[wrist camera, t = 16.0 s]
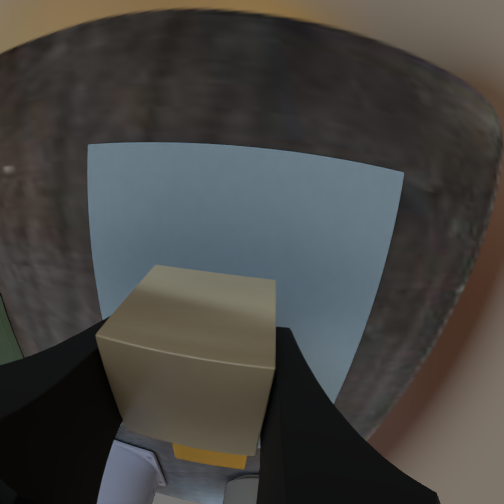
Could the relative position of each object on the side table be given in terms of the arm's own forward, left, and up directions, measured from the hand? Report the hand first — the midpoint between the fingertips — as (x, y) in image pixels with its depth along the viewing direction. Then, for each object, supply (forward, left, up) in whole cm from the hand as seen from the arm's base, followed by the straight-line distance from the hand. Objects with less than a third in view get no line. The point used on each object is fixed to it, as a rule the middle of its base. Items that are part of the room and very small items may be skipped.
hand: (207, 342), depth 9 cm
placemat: (-4, 0, -5) cm, 6 cm away
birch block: (0, 0, -1) cm, 1 cm away
